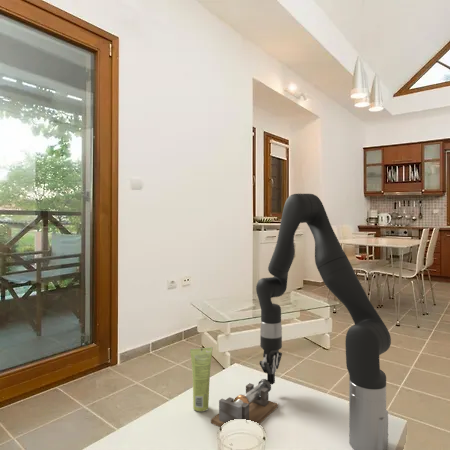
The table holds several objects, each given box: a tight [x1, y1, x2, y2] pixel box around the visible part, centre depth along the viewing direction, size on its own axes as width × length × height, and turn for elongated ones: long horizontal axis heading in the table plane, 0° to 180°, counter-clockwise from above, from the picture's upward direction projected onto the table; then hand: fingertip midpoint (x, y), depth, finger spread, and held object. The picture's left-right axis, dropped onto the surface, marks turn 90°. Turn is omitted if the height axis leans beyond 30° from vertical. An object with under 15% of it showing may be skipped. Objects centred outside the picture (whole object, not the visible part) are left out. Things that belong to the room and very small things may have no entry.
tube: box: [189, 346, 214, 412], centre depth 115 cm, size 6×5×20 cm
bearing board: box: [210, 382, 278, 428], centre depth 111 cm, size 12×20×7 cm, turn 144°
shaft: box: [233, 378, 272, 406], centre depth 113 cm, size 5×19×5 cm, turn 144°
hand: (271, 383), depth 124 cm, fingers closed
